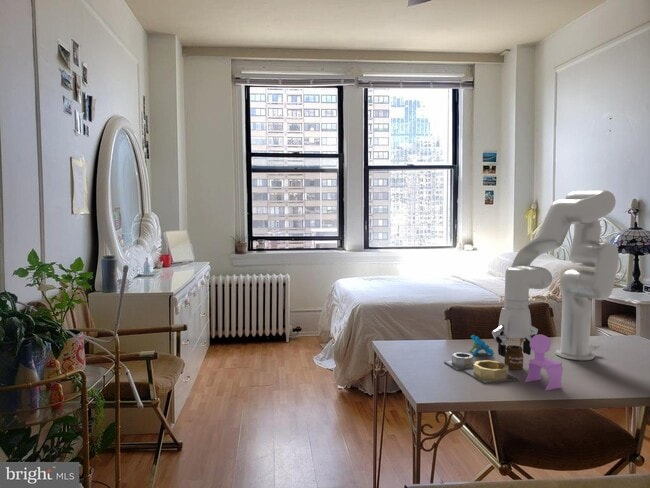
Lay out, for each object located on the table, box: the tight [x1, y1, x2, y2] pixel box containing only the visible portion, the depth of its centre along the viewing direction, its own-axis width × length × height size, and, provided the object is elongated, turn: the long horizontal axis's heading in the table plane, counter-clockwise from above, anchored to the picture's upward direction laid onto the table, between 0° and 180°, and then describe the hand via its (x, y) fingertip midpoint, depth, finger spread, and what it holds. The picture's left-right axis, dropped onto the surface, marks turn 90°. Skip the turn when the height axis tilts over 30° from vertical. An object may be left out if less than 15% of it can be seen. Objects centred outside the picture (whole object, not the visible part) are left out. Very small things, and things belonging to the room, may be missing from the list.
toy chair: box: [524, 333, 564, 391], centre depth 158 cm, size 8×9×15 cm
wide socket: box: [463, 359, 520, 385], centre depth 165 cm, size 12×12×4 cm
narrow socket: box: [444, 352, 475, 372], centre depth 176 cm, size 9×9×4 cm
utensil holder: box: [504, 338, 525, 371], centre depth 174 cm, size 6×6×12 cm
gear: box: [469, 334, 495, 357], centre depth 189 cm, size 11×6×10 cm
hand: (514, 354), depth 175 cm, fingers open, 9 cm apart
